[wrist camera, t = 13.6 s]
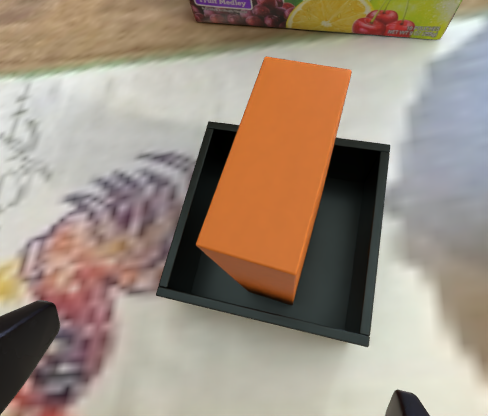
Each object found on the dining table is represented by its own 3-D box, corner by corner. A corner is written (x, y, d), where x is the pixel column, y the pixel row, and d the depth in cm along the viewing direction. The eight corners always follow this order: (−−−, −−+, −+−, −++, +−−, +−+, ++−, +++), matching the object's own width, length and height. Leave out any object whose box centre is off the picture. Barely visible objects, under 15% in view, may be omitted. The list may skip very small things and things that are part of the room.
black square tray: (350, 342, 20) (368, 347, 16) (183, 302, 22) (155, 295, 18) (370, 180, 24) (390, 144, 19) (222, 158, 26) (208, 120, 21)
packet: (292, 305, 21) (296, 276, 9) (247, 291, 22) (194, 245, 10) (319, 205, 23) (352, 69, 11) (277, 194, 24) (264, 55, 12)
